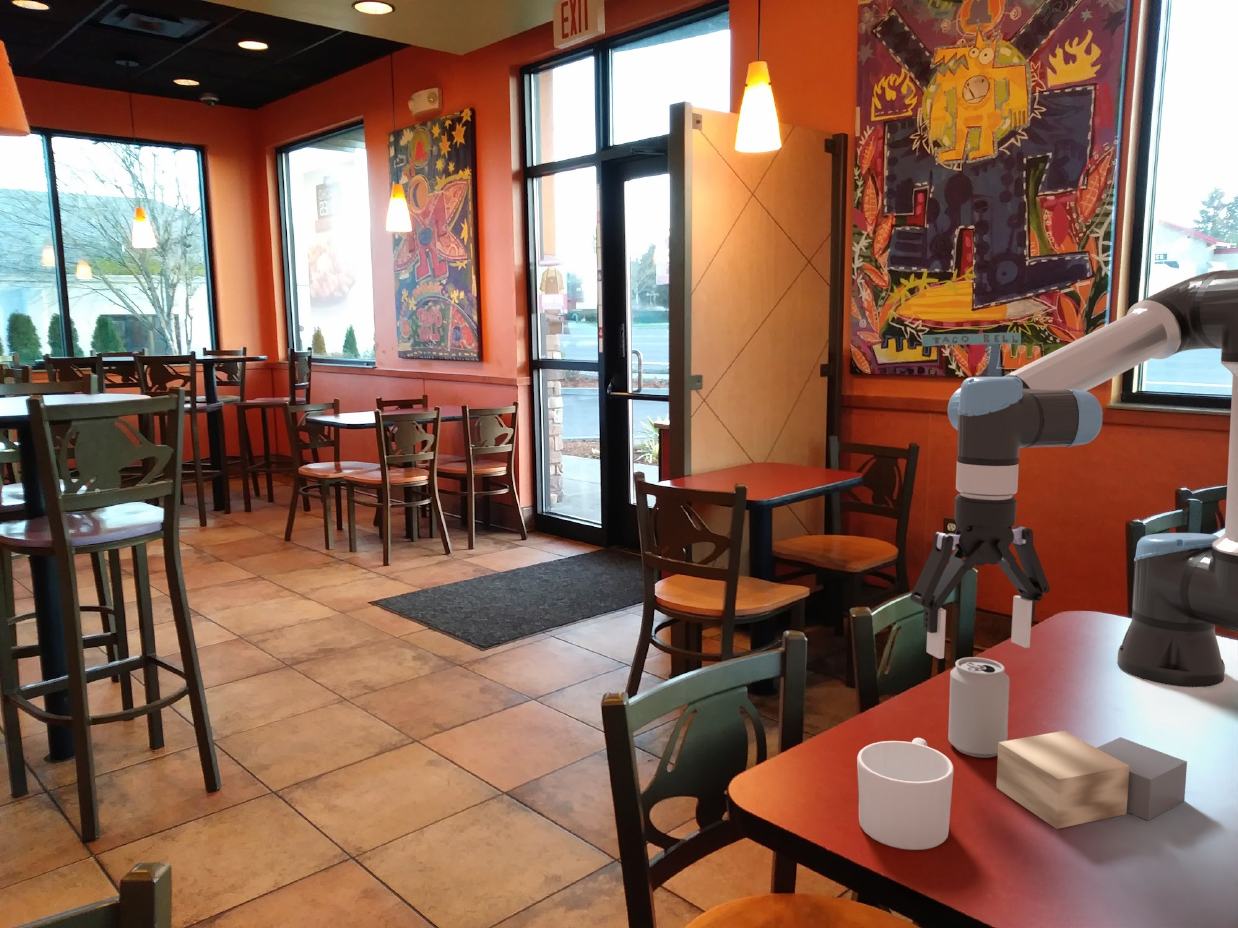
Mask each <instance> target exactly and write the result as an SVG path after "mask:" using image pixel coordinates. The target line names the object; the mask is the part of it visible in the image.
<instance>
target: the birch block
mask: <svg viewBox="0 0 1238 928" xmlns="http://www.w3.org/2000/svg"><path fill="white" fill-rule="evenodd" d="M996 763H997V764H996V765H997V767H996V787H995V788H996V789H998V790H999V791H1000V792H1002V793H1003V794H1004V795H1006V796H1008V797H1010V798H1011V799H1012V800H1014V801H1015V802H1017V803H1018V804H1019V805H1021V806H1022V807H1024V808H1026V809H1027V810H1028V811H1030V812H1031V813H1033V814H1034V815H1036V816H1037V817H1038V818H1040V819H1041V820H1043V821H1044V822H1046V823H1047V824H1049V825H1050V826H1051V827H1053V829H1056V830H1057V829H1058V830H1059V829H1063V828H1067V827H1072V826H1077V825H1082V824H1087V823H1091V822H1095V821H1100V820H1106V819H1110V818H1114V817H1119V816H1120V817H1121V816H1124V815H1127V813H1128V812H1127V798H1128V781H1129V765H1127V764H1125V763H1123V762H1121V761H1119V760H1118V759H1116V758H1114V757H1112V756H1110V755H1108V754H1106V753H1105V752H1103V751H1101V750H1099V749H1097V747H1096V746H1093V745H1092V744H1090V743H1087V742H1086V741H1084V740H1082V739H1080V738H1079V737H1077V736H1075V735H1073V734H1071V733H1069V732H1068V731H1065V730H1060V731H1055V732H1049V733H1043V734H1039V735H1033V736H1027V737H1020V738H1015V739H1009V740H1008V739H1007V741H1003V742H998V755H997V762H996Z"/></svg>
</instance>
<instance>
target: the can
mask: <svg viewBox="0 0 1238 928" xmlns="http://www.w3.org/2000/svg"><path fill="white" fill-rule="evenodd" d="M1005 670H1006V668H1005V666H1004V665H1003V664H1002V663H1000V662H999V661H996V660H992V659H989V658H984V657H975V656H974V657H973V656H972V657H971V656H969V657H962V658H960V659H957V660H956V661H955V667H954V668H952V670H950V675H949V678H950V679H949V701H948V704H949V706H948V736H947V737H948V739H947V740H948V741H949V743H950V744H951V745H952V746H953V747H954V748H955V749H956V750H957V751H959V752H960V753H962V754H965V755H967V756H971V757H973V758H974V757H975V758H981V759H982V758H985V759H986V758H992V757H993V758H994V757H997V756H998V742H1003V741H1008V729H1009V728H1008V726H1009V725H1008V724H1009V705H1010V704H1009V702H1010V695H1009V694H1010V677H1009V676H1008V675H1007V673H1005Z"/></svg>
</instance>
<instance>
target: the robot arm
mask: <svg viewBox="0 0 1238 928" xmlns="http://www.w3.org/2000/svg"><path fill="white" fill-rule="evenodd" d="M1204 349H1208V350H1209V349H1211V350H1212V349H1216V350H1217V349H1218V350H1221V351H1220V352H1221V353H1220V354H1221V356H1220V364H1221V365H1222V366H1224V367H1225V368H1226V369H1227V370H1228V371H1229V372H1230V373H1231V374H1232V387H1231V402H1230V403H1231V406H1230V421H1229V422H1230V423H1229V424H1230V426H1229V442H1228V443H1229V444H1228V464H1227V465H1228V466H1227V481H1226V482H1227V484H1226V485H1227V486H1226V501H1225V502H1226V505H1225V523H1224V524H1225V525H1224V526H1225V527H1224V533H1223V535H1221V536H1220V537H1219V536H1217V535H1215V534H1209V533H1200V532H1199V533H1198V532H1167V533H1166V532H1164V533H1162V532H1161V533H1154V534H1153V533H1151V534H1148V535H1147V534H1146V535H1144V536H1141V537H1140V539H1139V540H1138V541H1137V544H1136V549H1135V550H1136V551H1135V557H1134V559H1133V560H1134V561H1133V563H1134V565H1133V590H1132V613H1131V622H1130V623H1129V625H1128V628H1127V631H1126V632H1125V635H1124V637H1123V639H1122V643H1121V645H1120V646H1119V647H1118V650H1117V661H1116V663H1117V665H1118V667H1119V668H1120V670H1122V671H1124V672H1125V673H1127V674H1129V675H1131V676H1133V677H1136V678H1139V679H1142V680H1144V681H1148V682H1151V683H1157V684H1162V685H1165V686H1166V685H1167V686H1173V687H1181V688H1182V687H1183V688H1207V687H1214V686H1219V684H1220V685H1221V684H1222V683H1223V682H1224V680H1225V673H1226V665H1225V662H1224V660H1223V659H1222V656H1221V650H1220V647H1219V643H1218V640H1217V639H1218V638H1217V635H1216V630H1215V628H1216V626H1217V627H1220V628H1224V629H1226V630H1229V631H1233V632H1234V633H1235V632H1236V633H1238V269H1228V270H1227V269H1225V270H1224V269H1223V270H1216V271H1215V270H1214V271H1210V272H1206V273H1201V274H1198V275H1196V276H1195V275H1194V276H1193V277H1190V278H1187V279H1185V280H1183V281H1180V282H1178V283H1176V284H1173V285H1170V286H1169V287H1166V288H1164V289H1162V290H1160V291H1159V292H1156V293H1154V294H1152V295H1150V296H1148V297H1146V298H1143V299H1142V300H1140V301H1138V302H1136V303H1134V304H1133V305H1131V307H1130V308H1129V309H1128V310H1127V312H1126V315H1125V316H1122V317H1121V318H1118V319H1116V320H1115V321H1112V322H1111V323H1108V324H1106V325H1104V326H1102V327H1101V328H1098V329H1096V330H1095V331H1092V332H1090V333H1088V334H1087V335H1084V336H1082V337H1080V338H1078V339H1076V340H1075V341H1072V342H1070V343H1068V344H1067V345H1064V346H1062V347H1060V348H1058V349H1056V350H1054V351H1052V352H1049V353H1048V354H1046V355H1044V356H1042V357H1040V358H1037V359H1036V360H1034V361H1032V362H1030V363H1028V364H1026V365H1023V366H1022V367H1020V368H1018V369H1015V370H1014V371H1012V372H1009V373H1007V374H1006V375H1004V376H971V377H970V376H969V377H967V378H966V379H964V380H963V381H962V383H961V385H960V388H958V389H957V390H955V392H954V393H953V394H952V395H951V397H950V398H949V402H948V405H947V415H948V420H949V422H950V424H951V426H952V428H954V429H955V430H956V431H957V449H956V450H957V454H956V457H957V458H956V459H957V460H956V473H955V474H956V475H955V490H957V492H959V493H957V495H956V496H955V497H954V516H953V517H954V522H955V523H956V530H955V532H954V534H949V533H944V532H941V531H936V532H935V533H934V535H933V541H932V542H933V543H932V549H931V550H930V552H929V555H928V557H927V559H926V562H925V563H924V566H923V567H922V571H921V572H920V575H919V577H918V579H917V582H916V583H915V586H914V587H913V590H912V592H911V594H910V601H911V602H913V603H915V604H916V605H919V606H922V607H923V621H922V625H923V626H922V628H923V630H924V631H926V633H927V634H926V653H928V654H929V655H931V656H933V657H935V658H937V659H939V660H940V659H944V658H945V643H946V620H947V618H946V616H947V610H946V609H944V608H942V606H943V605H944V603H945V602H946V601H947V599H948V598H949V597H950V596H951V594H952V593H953V591H954V589H955V588H956V587H957V586H958V585H959V583H960V581H961V580H963V578H964V576H965V575H966V573H967V572H968V571H971V570H973V568H974V567H975V566H977V567H981V566H984V565H987V564H988V565H998V567H1000V569H1001V570H1002V572H1003V573H1004V574H1005V576H1006V578H1008V580H1009V582H1010V583H1011V584H1012V586H1013V587H1014V588H1015V590H1016V591H1017V593H1018V595H1013V599H1012V600H1013V602H1012V617H1011V618H1012V619H1011V635H1010V636H1011V637H1010V638H1011V639H1010V642H1011V643H1012V644H1016V645H1017V646H1019V647H1022V648H1024V649H1027V648H1030V647H1031V633H1032V632H1031V631H1032V622H1034V620H1035V618H1036V602H1041V601H1042V600H1043V597H1044V595H1043V594H1045V595H1047V594H1048V593H1050V589H1051V588H1050V584H1049V582H1048V579H1047V576H1046V574H1045V571H1044V569H1043V566H1042V563H1041V561H1040V559H1039V558H1040V557H1039V556H1038V552H1037V550H1036V548H1035V545H1034V531H1033V529H1031V528H1028V527H1025V526H1020V525H1015V524H1016V521H1017V519H1016V517H1017V501H1018V500H1017V499H1016V498H1015V497H1014V495H1015V494H1017V493H1018V486H1019V465H1020V464H1019V463H1020V452H1021V451H1020V450H1021V449H1026V448H1055V447H1056V448H1057V447H1058V448H1059V447H1065V448H1071V447H1074V446H1081V445H1082V446H1083V445H1086V444H1089V443H1091V442H1092V441H1094V440H1095V438H1096V437H1097V436H1098V435H1099V434H1100V432H1101V430H1102V426H1103V419H1104V418H1103V415H1104V411H1103V409H1102V405H1101V403H1100V401H1099V399H1097V397H1096V396H1095V395H1094V394H1092V393H1091V392H1089V390H1091V389H1093V388H1095V387H1097V386H1099V385H1101V384H1103V383H1105V382H1108V381H1109V380H1111V379H1113V378H1115V377H1117V376H1119V375H1121V374H1123V373H1125V372H1127V371H1129V370H1131V369H1133V368H1135V367H1136V366H1139V365H1140V364H1142V363H1144V362H1147V361H1148V360H1151V359H1154V360H1164V359H1168V358H1170V357H1172V356H1174V355H1175V354H1178V353H1182V352H1185V351H1191V350H1192V351H1194V350H1204ZM1012 543H1013V547H1014V549H1015V552H1016V554H1017V557H1018V560H1019V562H1020V565H1021V566H1020V565H1019V564H1018V562H1017V558H1016V556H1015V555H1014V554H1013V551H1011V549H1010V548H1009V547H1010V546H1011V545H1012Z"/></svg>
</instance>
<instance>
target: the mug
mask: <svg viewBox="0 0 1238 928" xmlns="http://www.w3.org/2000/svg"><path fill="white" fill-rule="evenodd" d="M856 761H857V762H856V763H857V764H856V765H857V768H856V769H857V791H858V792H857V795H858V796H857V797H858V821H859V826H860V827H861V829H862V830H863V832H864V833H865V834H867V835H868V836H869V837H870V838H871V839H873V840H875V841H876V842H879V843H880V844H883V845H885V846H889V847H892V848H896V849H900V850H907V851H919V850H920V851H922V850H923V851H924V850H929V849H933V848H935V847H938V846H939V845H941V844H943V843H944V842H945V841H946V840H947V839H948V837H949V828H950V818H951V806H952V805H951V804H952V791H953V781H954V780H953V779H954V769H955V767H954V765H953V763H952V761H951V759H949V757H947V755H945V754H943V753H942V752H941V751H939V750H937V749H934V748H932V747H929V746H928V742H927V740H925V739H924V738H921V737H915V738H912V740H911V741H906V740H905V741H903V740H902V741H900V740H887V741H886V740H883V741H878V742H874V743H871V744H868V745H866V746H864V747H863V748H861V750H859V752H858V754H857V757H856Z"/></svg>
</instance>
